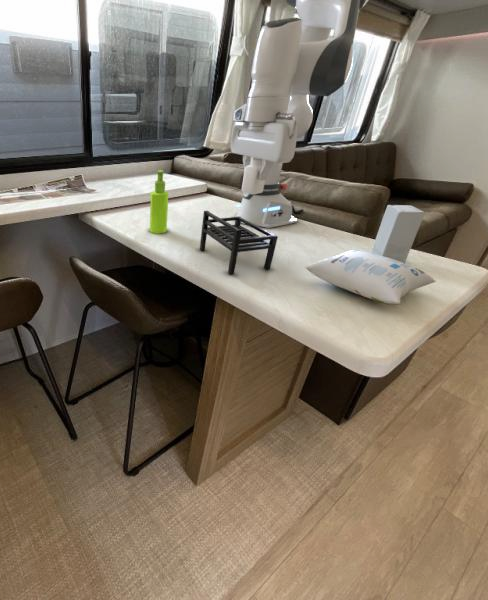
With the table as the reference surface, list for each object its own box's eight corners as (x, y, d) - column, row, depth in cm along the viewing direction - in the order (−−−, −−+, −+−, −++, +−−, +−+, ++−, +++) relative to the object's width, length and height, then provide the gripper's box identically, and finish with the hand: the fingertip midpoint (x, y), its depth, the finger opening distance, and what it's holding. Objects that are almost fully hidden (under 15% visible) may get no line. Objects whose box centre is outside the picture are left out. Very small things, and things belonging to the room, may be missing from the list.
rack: (234, 245, 101) (240, 207, 95) (270, 269, 87) (280, 226, 80) (199, 249, 99) (203, 210, 93) (229, 275, 84) (237, 230, 78)
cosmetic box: (402, 268, 86) (428, 213, 79) (376, 265, 88) (399, 211, 80) (391, 256, 93) (414, 204, 85) (367, 254, 95) (387, 203, 87)
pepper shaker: (263, 193, 80) (271, 151, 75) (252, 195, 79) (260, 152, 74) (250, 190, 83) (258, 149, 78) (239, 192, 82) (246, 151, 77)
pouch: (446, 264, 70) (351, 235, 84) (407, 290, 61) (308, 253, 76) (428, 295, 74) (341, 262, 88) (388, 323, 66) (299, 282, 80)
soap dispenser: (166, 227, 118) (169, 168, 107) (166, 233, 112) (169, 172, 102) (150, 226, 118) (151, 168, 108) (149, 233, 112) (151, 172, 102)
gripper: (311, 113, 64) (294, 185, 71) (252, 111, 81) (243, 170, 88) (284, 113, 63) (269, 187, 70) (229, 112, 80) (222, 171, 87)
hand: (254, 177), depth 79 cm, fingers closed on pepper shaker, 4 cm apart
